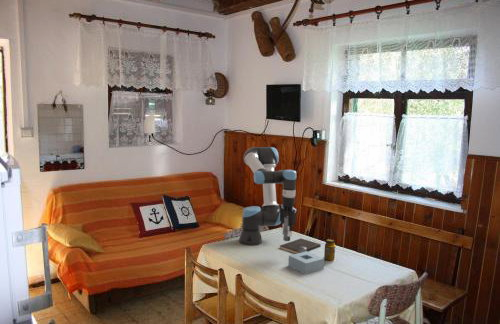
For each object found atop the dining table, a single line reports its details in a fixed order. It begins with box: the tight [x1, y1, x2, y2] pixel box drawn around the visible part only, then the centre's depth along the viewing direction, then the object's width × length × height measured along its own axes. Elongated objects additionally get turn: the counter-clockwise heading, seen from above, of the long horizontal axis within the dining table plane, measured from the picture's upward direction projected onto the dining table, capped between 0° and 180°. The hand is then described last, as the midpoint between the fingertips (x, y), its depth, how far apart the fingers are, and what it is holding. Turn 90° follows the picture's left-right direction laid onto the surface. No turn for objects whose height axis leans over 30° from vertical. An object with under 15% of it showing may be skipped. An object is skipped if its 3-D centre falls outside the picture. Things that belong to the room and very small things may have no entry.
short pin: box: [300, 246, 307, 253], centre depth 247 cm, size 4×4×6 cm
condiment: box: [323, 238, 338, 264], centre depth 244 cm, size 7×8×12 cm
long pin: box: [282, 215, 291, 242], centre depth 243 cm, size 4×4×14 cm
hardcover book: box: [279, 238, 322, 254], centre depth 265 cm, size 16×23×2 cm
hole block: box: [287, 251, 325, 275], centre depth 231 cm, size 14×14×6 cm
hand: (286, 234), depth 243 cm, fingers closed on long pin, 4 cm apart
